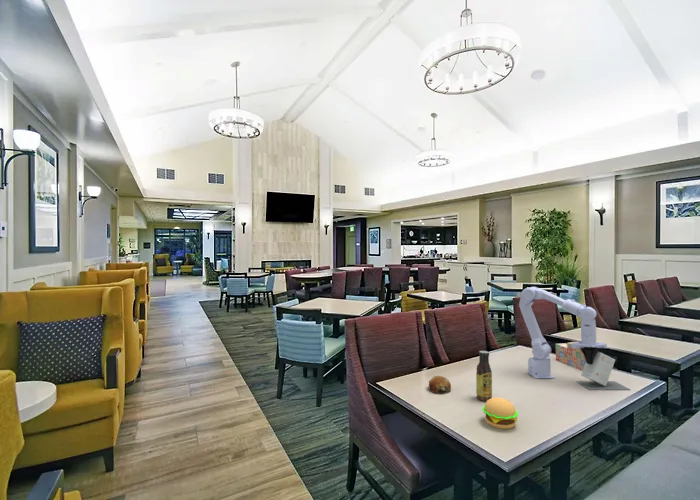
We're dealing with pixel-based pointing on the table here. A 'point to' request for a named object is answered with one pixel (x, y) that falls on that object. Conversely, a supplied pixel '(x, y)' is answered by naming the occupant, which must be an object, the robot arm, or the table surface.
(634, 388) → the table surface
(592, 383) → the mat
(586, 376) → the small box
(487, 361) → the sauce bottle
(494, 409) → the hamburger
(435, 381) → the bread roll
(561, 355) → the stack of blocks
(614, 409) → the table surface
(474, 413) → the table surface
